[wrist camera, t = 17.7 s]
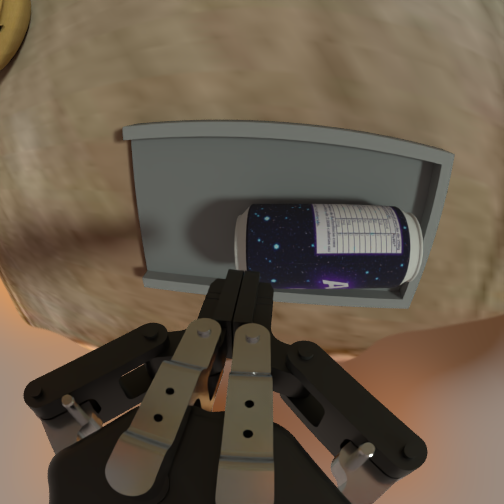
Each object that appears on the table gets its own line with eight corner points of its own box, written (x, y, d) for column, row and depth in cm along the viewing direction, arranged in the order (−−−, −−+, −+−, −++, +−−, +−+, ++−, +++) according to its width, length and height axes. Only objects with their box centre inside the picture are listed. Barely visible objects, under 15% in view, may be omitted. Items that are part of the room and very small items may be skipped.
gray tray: (152, 274, 26) (144, 286, 25) (135, 123, 19) (122, 127, 18) (402, 295, 24) (408, 308, 23) (442, 148, 17) (454, 154, 16)
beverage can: (232, 296, 17) (423, 294, 16) (231, 199, 17) (425, 203, 15) (245, 280, 23) (393, 280, 21) (245, 207, 22) (394, 210, 21)
